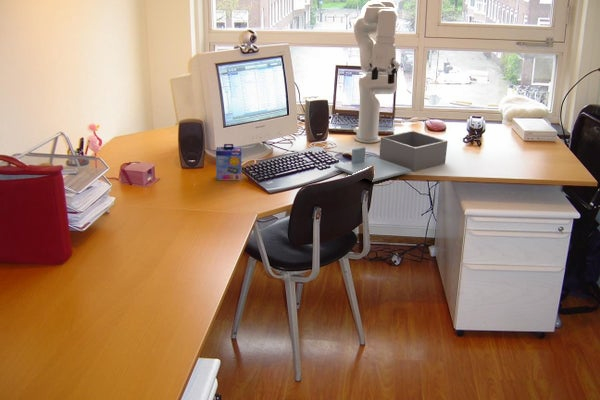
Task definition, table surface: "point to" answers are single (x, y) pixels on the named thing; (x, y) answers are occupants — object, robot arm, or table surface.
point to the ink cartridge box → (228, 163)
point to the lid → (381, 166)
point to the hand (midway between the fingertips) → (382, 81)
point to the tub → (413, 150)
